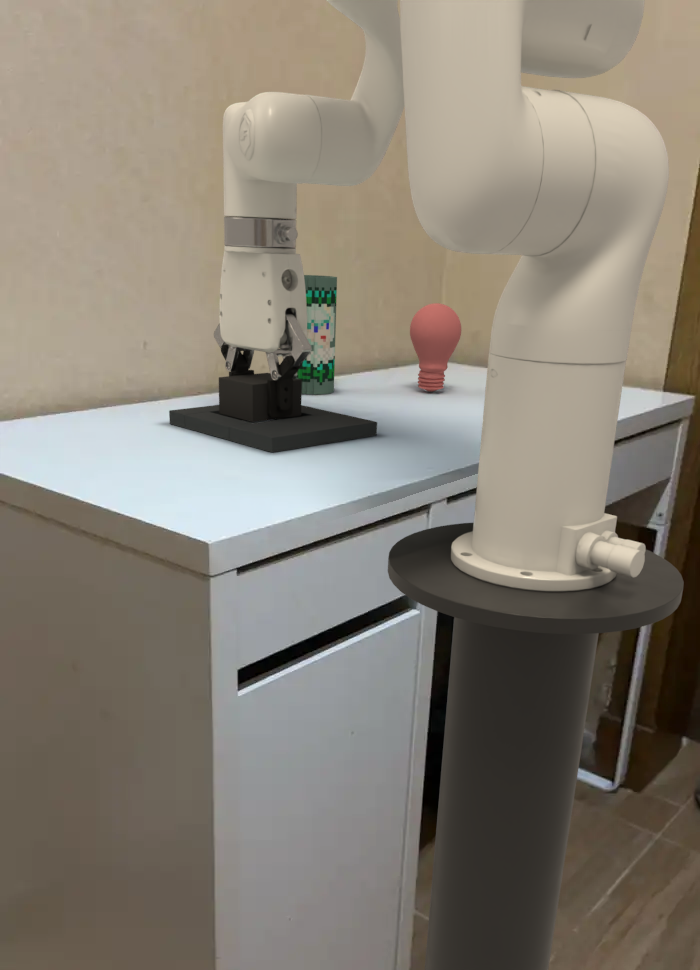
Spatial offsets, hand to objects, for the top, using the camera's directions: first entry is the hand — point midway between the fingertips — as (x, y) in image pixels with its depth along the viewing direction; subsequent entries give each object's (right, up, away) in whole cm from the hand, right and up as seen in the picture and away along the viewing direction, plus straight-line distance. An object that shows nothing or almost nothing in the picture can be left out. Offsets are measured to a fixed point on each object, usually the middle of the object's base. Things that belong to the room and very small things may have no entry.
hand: (260, 409), depth 105 cm
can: (+5, +8, +26) cm, 27 cm away
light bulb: (+22, +9, +28) cm, 37 cm away
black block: (0, -1, 0) cm, 1 cm away
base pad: (+1, -2, -1) cm, 3 cm away
